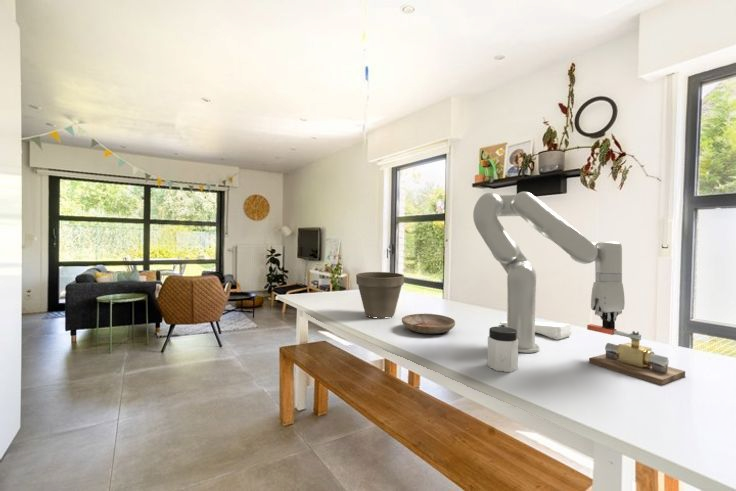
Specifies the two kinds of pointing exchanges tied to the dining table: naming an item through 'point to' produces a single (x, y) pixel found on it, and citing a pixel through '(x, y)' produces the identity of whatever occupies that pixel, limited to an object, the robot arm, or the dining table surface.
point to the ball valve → (637, 356)
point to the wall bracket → (551, 329)
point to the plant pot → (379, 292)
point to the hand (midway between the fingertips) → (608, 331)
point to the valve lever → (614, 331)
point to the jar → (503, 349)
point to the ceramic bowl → (428, 323)
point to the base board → (638, 370)
